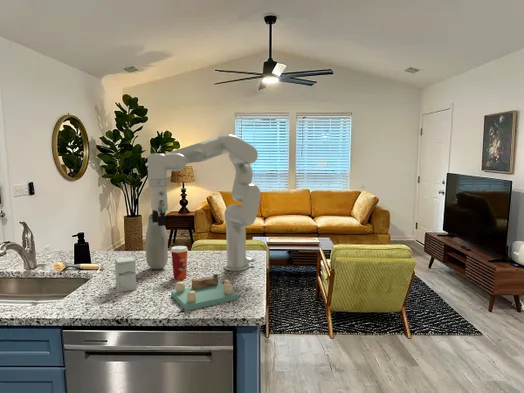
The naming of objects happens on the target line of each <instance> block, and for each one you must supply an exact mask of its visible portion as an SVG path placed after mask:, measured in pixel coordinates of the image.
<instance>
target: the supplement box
mask: <svg viewBox="0 0 524 393" xmlns="http://www.w3.org/2000/svg"><path fill="white" fill-rule="evenodd" d="M114 268H115V272H114V274H115V288H116V290H117V293H121V292H127V291H133V290H134V291H136V290H137V273H136V271H137V270H136V269H137V268H136V259H135V258H134V256H126V257H117V258H116V257H115V258H114Z"/></svg>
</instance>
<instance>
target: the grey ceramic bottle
mask: <svg viewBox="0 0 524 393" xmlns="http://www.w3.org/2000/svg"><path fill="white" fill-rule="evenodd" d="M147 220H148V221H147V222H148V224H147V229H146V232H145V233H146V234H145V239H144V240H145V242H144V243H145V258H146V263H147V265H148V267H149V268H150V269H152V270H162V269H164V268H165V267H166V266H167V264H168V259H169V252H168V251H169V249H168V247H169V245H168V244H169V243H168V242H169V241H168V240H169V239H168V238H169V237H168V233H167V229H166V226H158V222H155V223H153V222H152V213H150V214H149V215H148V218H147Z"/></svg>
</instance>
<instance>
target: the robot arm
mask: <svg viewBox="0 0 524 393" xmlns="http://www.w3.org/2000/svg"><path fill="white" fill-rule="evenodd" d="M224 154H228V157H229V160H230V162H231V163H232V165H233V167H234V169H235V177H234V180H233V181H234V182H233V186H232V189H231V198H232V200H233V201H235V202H238V203H241V204H235V203H233V204H230V205H228V206H227V207H226V208H225V210H224V216H223V217H224V222H225V227H226V263H225V264H223V269H224V270H227V271H232V272H241V271H245V270H248V269H249V268H250V263H254V262H255V260H256V259H255V257H247V242H246V241H247V238H246V237H247V232H246V228H245V227H250V226H252V225H253V224H254V223H255V221H256V219H257V215H258V210H259V207H260V202H261V190H260V188H259V186H258V185H257V184H254V183H252V181H253V176H254V174H253V173H254V172H253V168H252V165H251V164H254V163H255V162H256V161H257V160H258V156H259V154H258V150H257V149H256V148H255V146H253V145H251V144H250V143H248V142H247V141H245V140H243V139H242V138H240V137H238V136H236V135H233V134H223V135H218V136H215V137H212V138H209V139H206V140H204V141H201V142H198V143H195V144H194V143H193V144H191V145H188V146H185V147H181V148H178V149H175V150H172V151H169V152H166V153H149V154H148V155H147V177H148V180H147V181H148V188H150V208H151V210H152V211H151V214H152V222H153V223H155V222H158V226H165V227H166V226H167V213H166V212H167V211H168V209H169V206H168V205H169V204H168V192H167V187H168V172H167V171H171V172H179V171H182V170H184V169H185V167H186V166H187V165H188V164H193V163H202V162H206V161H209V160H211V159H213V158H215V157H219V156H221V155H224Z"/></svg>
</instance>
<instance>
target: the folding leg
mask: <svg viewBox="0 0 524 393" xmlns="http://www.w3.org/2000/svg"><path fill="white" fill-rule="evenodd" d="M218 282H219V274H218V273H213V275H212V276H209V277H202V278H197V277H195V278H192V279H191V287H192V288H193V289H199V288H204V287H209V286H214V285H217V284H218Z"/></svg>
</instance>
